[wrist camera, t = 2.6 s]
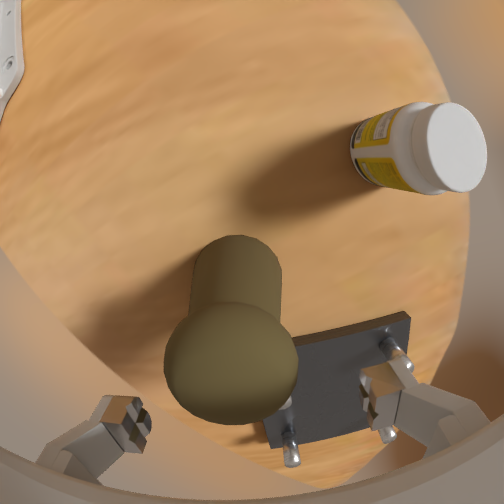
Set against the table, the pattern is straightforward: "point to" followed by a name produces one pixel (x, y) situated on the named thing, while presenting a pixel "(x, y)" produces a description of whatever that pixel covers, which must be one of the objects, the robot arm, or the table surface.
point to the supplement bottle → (421, 149)
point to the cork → (233, 337)
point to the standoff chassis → (335, 383)
